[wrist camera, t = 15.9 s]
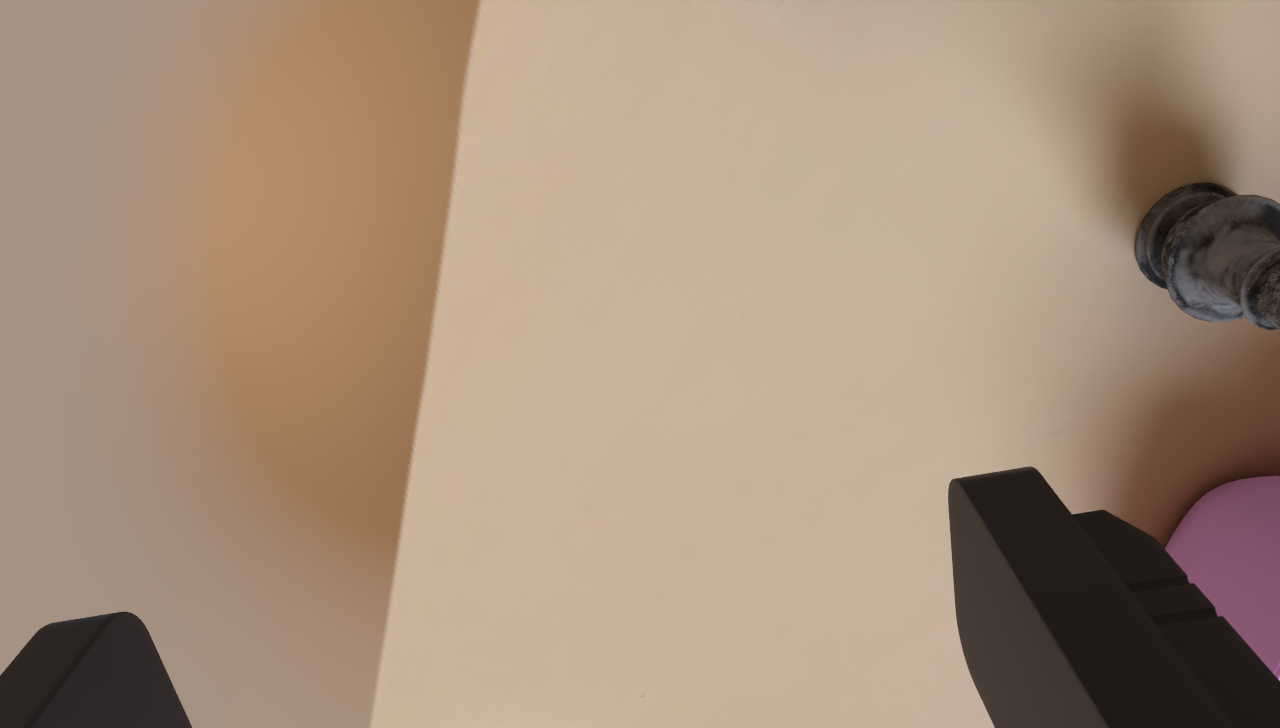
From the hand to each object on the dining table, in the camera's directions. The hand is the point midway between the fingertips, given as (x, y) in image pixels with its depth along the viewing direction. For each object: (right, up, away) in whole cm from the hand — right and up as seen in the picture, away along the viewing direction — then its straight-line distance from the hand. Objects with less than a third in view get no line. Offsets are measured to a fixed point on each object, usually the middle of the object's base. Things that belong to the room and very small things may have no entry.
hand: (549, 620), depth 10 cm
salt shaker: (+27, +9, +38) cm, 48 cm away
